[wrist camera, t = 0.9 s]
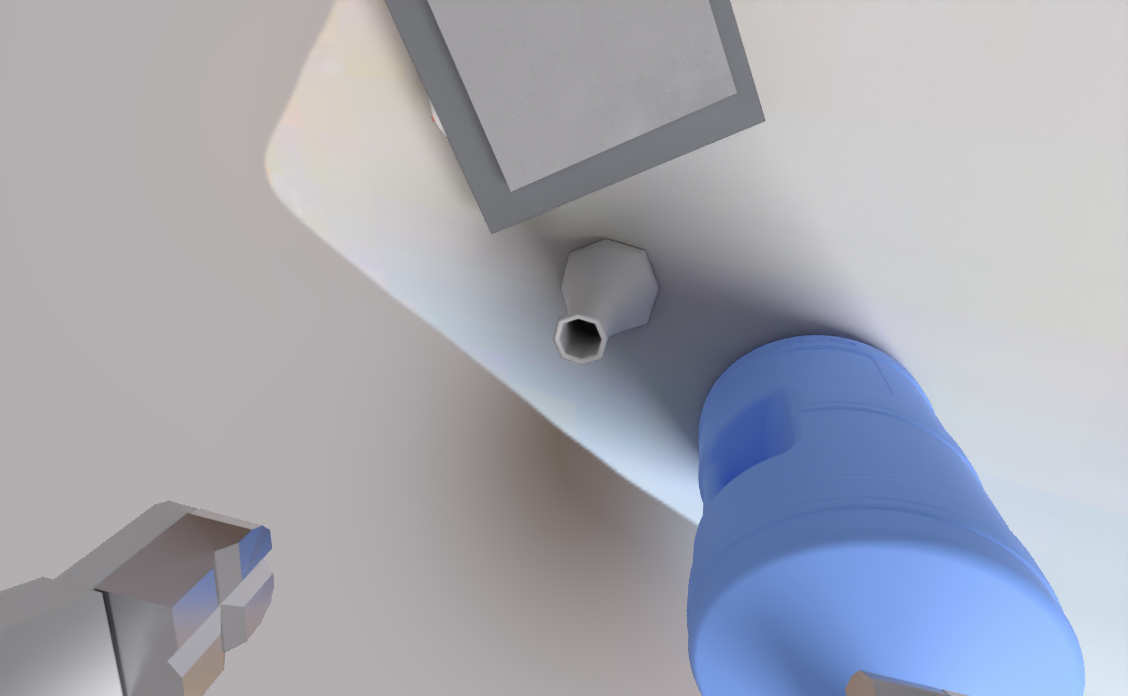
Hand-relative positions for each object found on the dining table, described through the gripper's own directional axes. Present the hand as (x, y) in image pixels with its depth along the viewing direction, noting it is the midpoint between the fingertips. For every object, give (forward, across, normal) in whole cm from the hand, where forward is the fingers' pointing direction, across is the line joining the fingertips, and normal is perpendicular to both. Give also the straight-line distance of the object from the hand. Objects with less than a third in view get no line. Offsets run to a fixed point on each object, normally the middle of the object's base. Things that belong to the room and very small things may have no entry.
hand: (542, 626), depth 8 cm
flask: (+36, +2, +5) cm, 36 cm away
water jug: (+35, -15, +13) cm, 40 cm away
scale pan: (+31, +5, -10) cm, 33 cm away
